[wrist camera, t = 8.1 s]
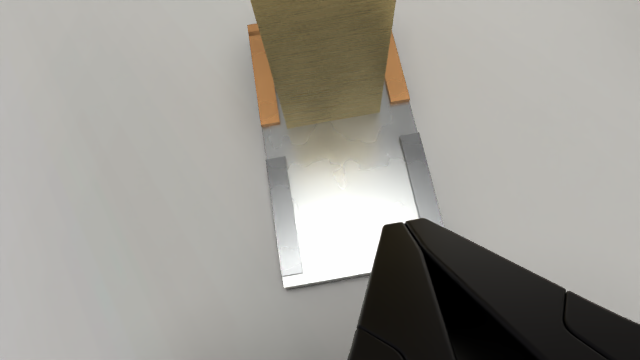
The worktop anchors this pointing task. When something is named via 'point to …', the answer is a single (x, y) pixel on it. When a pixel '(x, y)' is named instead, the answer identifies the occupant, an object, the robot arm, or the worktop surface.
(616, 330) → the robot arm
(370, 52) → the brass block
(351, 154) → the silver flat plate
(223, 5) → the worktop surface
